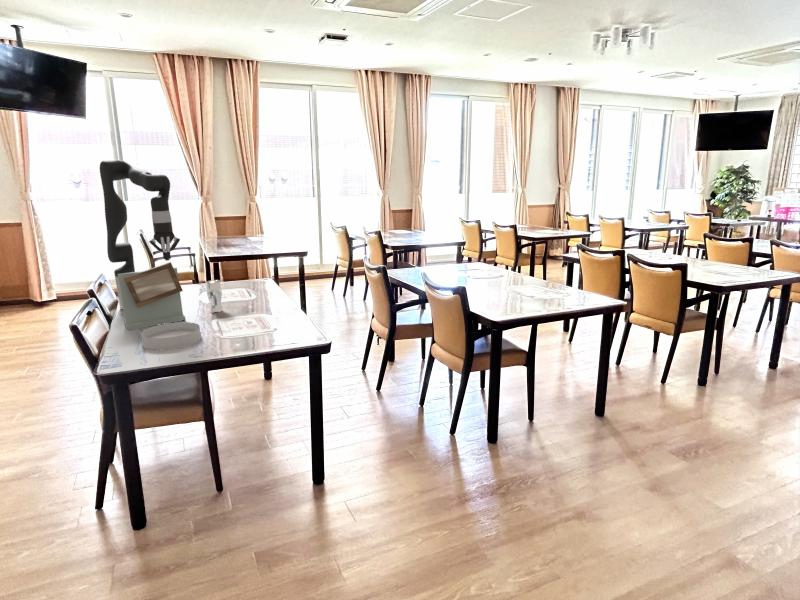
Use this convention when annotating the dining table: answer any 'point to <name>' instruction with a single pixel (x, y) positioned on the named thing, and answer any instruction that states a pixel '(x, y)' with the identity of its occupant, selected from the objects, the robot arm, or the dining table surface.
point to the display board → (149, 307)
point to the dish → (171, 335)
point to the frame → (153, 284)
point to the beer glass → (214, 295)
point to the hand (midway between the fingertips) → (167, 260)
